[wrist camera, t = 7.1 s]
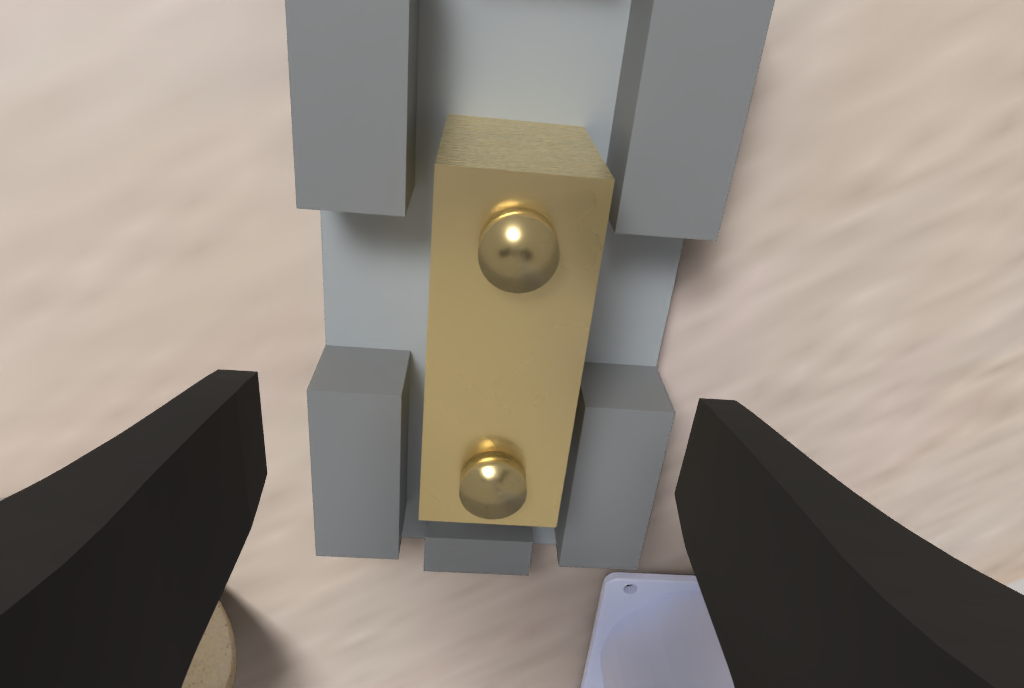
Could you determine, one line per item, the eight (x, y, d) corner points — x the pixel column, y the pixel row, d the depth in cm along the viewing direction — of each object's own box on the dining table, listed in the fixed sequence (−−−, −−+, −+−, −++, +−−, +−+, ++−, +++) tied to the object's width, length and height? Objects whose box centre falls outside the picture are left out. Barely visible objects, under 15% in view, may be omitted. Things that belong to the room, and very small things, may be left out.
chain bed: (747, -113, 17) (806, -129, 14) (612, 527, 26) (629, 603, 23) (315, -162, 16) (274, -191, 13) (338, 514, 25) (317, 590, 22)
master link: (583, 126, 18) (619, 188, 13) (542, 416, 22) (558, 544, 17) (447, 113, 18) (432, 172, 13) (432, 408, 22) (416, 537, 17)
